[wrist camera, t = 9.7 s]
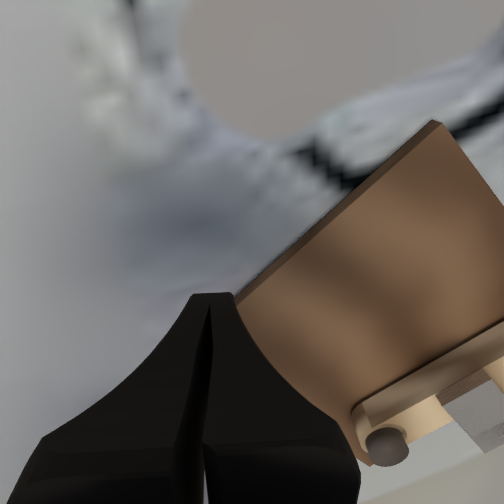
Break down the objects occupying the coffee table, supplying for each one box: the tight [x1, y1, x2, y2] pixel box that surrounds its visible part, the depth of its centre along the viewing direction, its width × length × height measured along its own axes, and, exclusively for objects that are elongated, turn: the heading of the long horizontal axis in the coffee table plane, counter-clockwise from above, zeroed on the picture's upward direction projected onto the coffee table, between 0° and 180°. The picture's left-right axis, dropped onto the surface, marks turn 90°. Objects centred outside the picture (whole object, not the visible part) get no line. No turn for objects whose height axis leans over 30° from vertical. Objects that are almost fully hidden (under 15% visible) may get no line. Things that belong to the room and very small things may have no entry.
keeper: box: [435, 368, 504, 453], centre depth 23 cm, size 3×6×4 cm, turn 41°
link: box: [351, 321, 504, 467], centre depth 23 cm, size 14×3×3 cm, turn 129°
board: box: [234, 120, 504, 467], centre depth 24 cm, size 18×18×1 cm
